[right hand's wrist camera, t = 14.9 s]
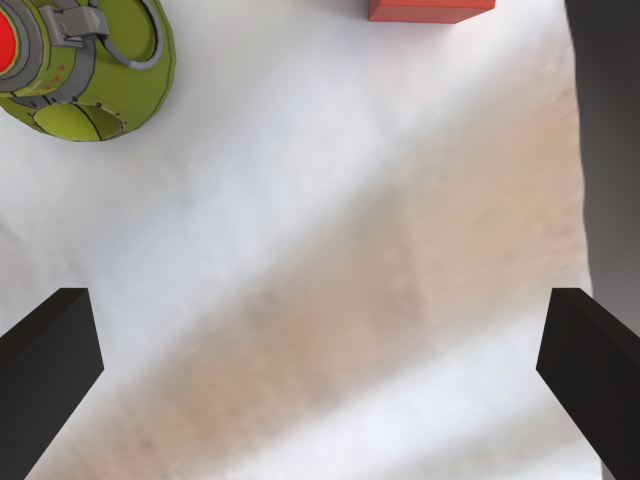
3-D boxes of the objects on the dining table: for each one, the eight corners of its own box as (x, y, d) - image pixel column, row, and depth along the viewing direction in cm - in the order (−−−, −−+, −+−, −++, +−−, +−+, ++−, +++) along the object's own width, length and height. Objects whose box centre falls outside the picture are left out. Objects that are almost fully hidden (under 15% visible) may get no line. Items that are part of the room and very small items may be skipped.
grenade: (76, 142, 36) (-83, 186, 22) (15, -21, 32) (-226, -91, 18) (218, 115, 35) (144, 143, 21) (173, -57, 31) (47, -161, 17)
